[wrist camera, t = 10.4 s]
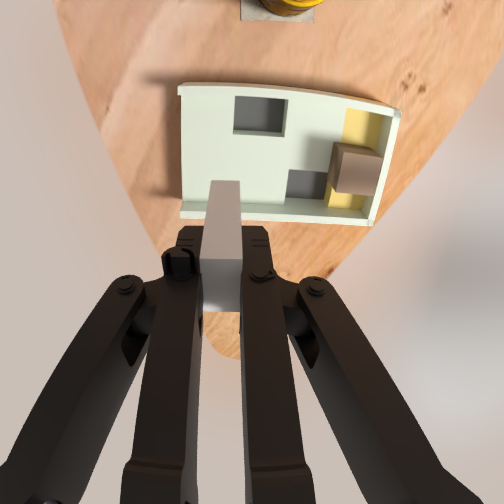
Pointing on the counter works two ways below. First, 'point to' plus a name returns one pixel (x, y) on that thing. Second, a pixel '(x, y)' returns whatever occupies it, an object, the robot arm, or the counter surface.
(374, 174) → the block
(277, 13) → the condiment
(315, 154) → the box
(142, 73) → the counter surface
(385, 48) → the counter surface
